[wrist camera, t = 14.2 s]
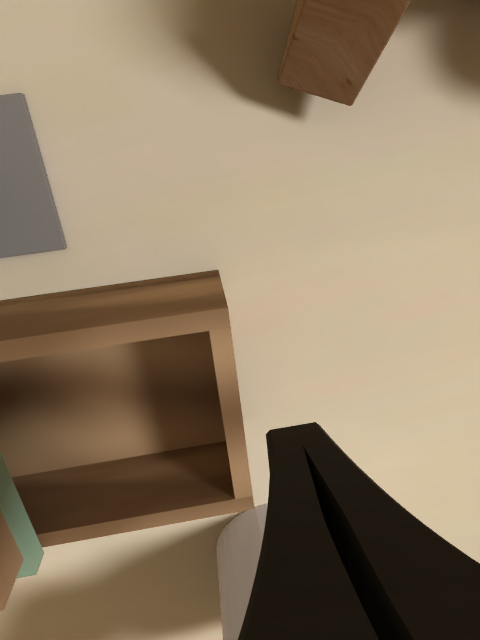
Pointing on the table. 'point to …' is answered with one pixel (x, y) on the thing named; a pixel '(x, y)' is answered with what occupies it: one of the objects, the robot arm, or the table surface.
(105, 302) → the toolbox
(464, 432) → the table surface
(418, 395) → the table surface
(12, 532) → the toolbox lid
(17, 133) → the mat
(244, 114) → the table surface
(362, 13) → the wooden block set
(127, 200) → the table surface
